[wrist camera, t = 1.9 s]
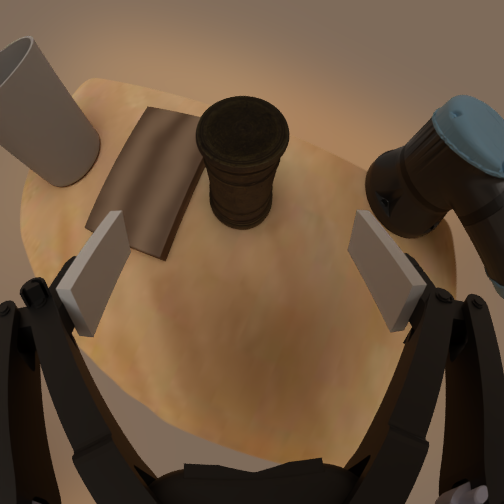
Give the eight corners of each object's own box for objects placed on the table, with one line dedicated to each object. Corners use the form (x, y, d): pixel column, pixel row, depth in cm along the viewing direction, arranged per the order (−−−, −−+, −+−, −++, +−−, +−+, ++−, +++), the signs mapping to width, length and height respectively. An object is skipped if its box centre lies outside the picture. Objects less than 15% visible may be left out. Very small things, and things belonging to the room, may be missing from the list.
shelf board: (221, 132, 43) (220, 122, 40) (165, 261, 39) (159, 257, 36) (152, 116, 43) (147, 106, 40) (93, 232, 39) (84, 227, 36)
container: (252, 240, 40) (263, 191, 22) (198, 210, 41) (172, 144, 23) (282, 189, 42) (310, 117, 24) (230, 162, 42) (227, 80, 24)
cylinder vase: (61, 202, 40) (-37, 131, 15) (38, 162, 41) (-39, 93, 16) (113, 150, 42) (42, 48, 17) (84, 117, 43) (24, 29, 18)
